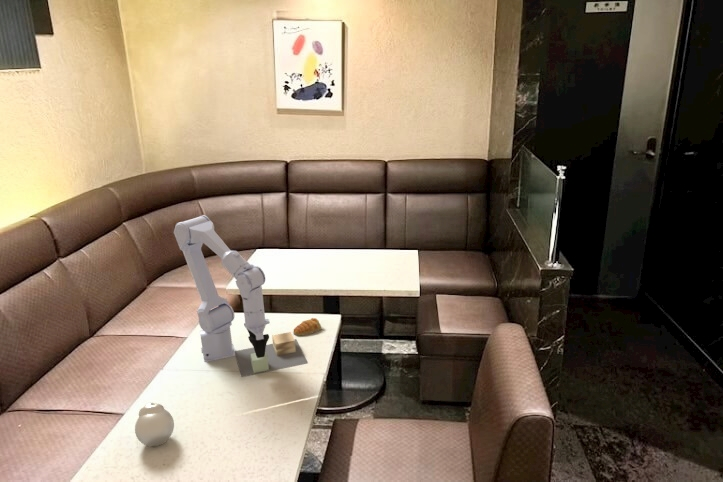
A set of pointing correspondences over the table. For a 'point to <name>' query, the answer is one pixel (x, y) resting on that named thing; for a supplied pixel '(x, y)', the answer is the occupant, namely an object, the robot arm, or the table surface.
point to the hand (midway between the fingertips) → (258, 350)
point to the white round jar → (154, 425)
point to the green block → (259, 363)
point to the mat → (269, 359)
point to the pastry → (307, 327)
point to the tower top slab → (283, 340)
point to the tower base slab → (284, 350)
